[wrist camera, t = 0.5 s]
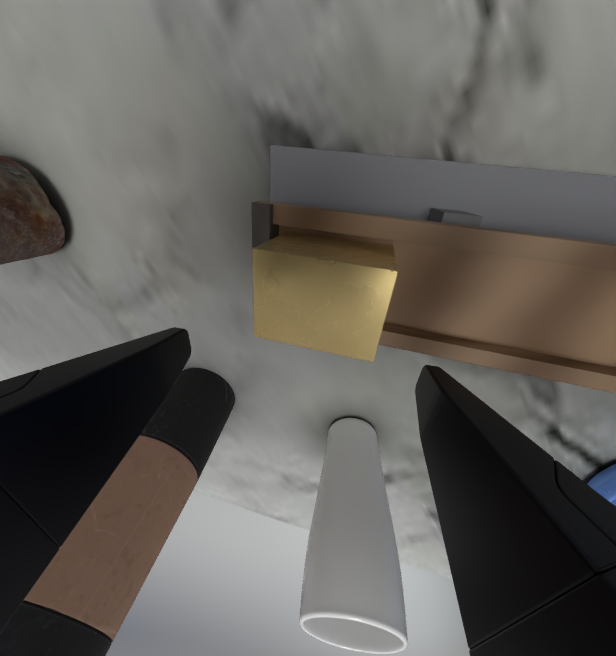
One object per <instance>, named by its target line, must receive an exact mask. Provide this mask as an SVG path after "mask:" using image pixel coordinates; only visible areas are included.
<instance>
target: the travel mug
mask: <svg viewBox="0 0 616 656" xmlns="http://www.w3.org/2000/svg"><path fill="white" fill-rule="evenodd" d="M234 402H235V397H234V393H233V391H232V389H231V387H230V386H229V384H228V383H227V382H226V381H225V380H224V379H222V378H221V377H220V376H218V375H217V374H215V373H213V372H210V371H208V370H204V369H199V368H191V369H187V370H184V371H182V372H181V373H180V375H179V377H178V379H177V381H176V382H175V384H174V386H173V388H172V389H171V391H170V393H169V394H168V396H167V397H166V399H165V400H164V402H163V403H162V405H161V406H160V407H159V409H158V410H157V412H156V413H155V414H154V416H153V417H152V419H151V420H150V422H149V423H148V424H147V426H146V427H145V429H144V430H143V431H142V433H141V434H140V436H139V437H138V439H137V440H136V441H135V443H134V444H133V446H132V447H131V448H130V450H129V451H128V453H127V454H126V455H125V457H124V458H123V460H122V461H121V463H120V464H119V465H118V467H117V468H116V470H115V471H114V472H113V474H112V475H111V477H110V478H109V480H108V481H107V482H106V484H105V485H104V487H103V488H102V489H101V491H100V492H99V494H98V495H97V497H96V498H95V499H94V501H93V502H92V504H91V505H90V506H89V508H88V509H87V511H86V512H85V514H84V515H83V516H82V518H81V519H80V521H79V522H78V523H77V525H76V526H75V528H74V529H73V531H72V532H71V533H70V535H69V536H68V538H67V539H66V540H65V542H64V543H63V545H62V546H61V547H59V548H60V549H59V551H58V552H57V554H56V555H55V556H54V558H53V559H52V561H51V562H50V563H49V565H48V566H47V568H46V569H45V571H44V572H43V573H42V575H41V576H40V578H39V579H38V580H37V582H36V583H35V585H34V586H33V588H32V589H31V590H30V592H29V593H28V595H27V596H26V597H25V599H24V600H23V602H22V603H21V605H20V606H19V607H18V609H17V610H16V612H15V613H14V614H13V616H12V617H11V619H10V620H9V622H8V623H7V624H6V626H5V627H4V629H3V630H2V631H1V633H0V656H105V655H106V653H107V651H108V649H109V648H110V646H111V642H113V640H114V638H115V636H116V634H117V633H118V631H119V629H120V627H121V624H122V623H123V621H124V619H125V617H126V615H127V614H128V612H129V610H130V608H131V606H132V604H133V602H134V600H135V599H136V596H137V595H138V593H139V591H140V589H141V587H142V585H143V583H144V582H145V580H146V578H147V576H148V574H149V572H150V570H151V568H152V566H153V565H154V563H155V561H156V559H157V557H158V555H159V553H160V551H161V549H162V547H163V546H164V544H165V542H166V540H167V538H168V536H169V534H170V532H171V530H172V529H173V526H174V525H175V523H176V521H177V519H178V517H179V515H180V513H181V511H182V510H183V508H184V506H185V504H186V502H187V500H188V498H189V496H190V495H191V493H192V491H193V489H194V487H195V485H196V483H197V481H198V479H199V477H200V475H201V473H202V471H203V469H204V467H205V465H206V463H207V461H208V459H209V456H210V454H211V452H212V450H213V448H214V446H215V444H216V442H217V440H218V438H219V436H220V434H221V432H222V430H223V427H224V425H225V423H226V421H227V419H228V417H229V415H230V413H231V411H232V408H233V406H234Z"/></svg>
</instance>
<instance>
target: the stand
mask: <svg viewBox="0 0 616 656" xmlns="http://www.w3.org/2000/svg"><path fill="white" fill-rule="evenodd" d="M270 202H276V203H284V204H292V205H300V206H309V207H317V208H325V209H333V210H342V211H350V212H358V213H366V214H375V215H383V216H391V217H399V218H408V219H416V220H424V221H432V222H441V223H449V224H457V225H465V226H473V227H482V228H490V229H498V230H506V231H515V232H523V233H531V234H539V235H548V236H556V237H564V238H572V239H581V240H589V241H597V242H605V243H614V244H616V176H606V175H595V174H584V173H573V172H562V171H551V170H540V169H529V168H518V167H507V166H496V165H485V164H474V163H463V162H452V161H442V160H431V159H420V158H409V157H398V156H387V155H376V154H365V153H354V152H343V151H332V150H321V149H310V148H299V147H288V146H277V145H270Z"/></svg>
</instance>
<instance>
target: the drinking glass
mask: <svg viewBox="0 0 616 656" xmlns="http://www.w3.org/2000/svg"><path fill="white" fill-rule="evenodd" d="M299 622H300V625H301V627H302V629H303V630H304V631H305V632H307V633H308V634H309V635H311V636H313V637H315V638H317V639H319V640H321V641H323V642H326V643H328V644H331V645H334V646H338V647H341V648H345V649H349V650H354V651H359V652H366V653H376V654H391V653H397V652H401V651H403V650H404V649H405V648H406V647H407V644H408V638H407V627H406V615H405V604H404V595H403V585H402V577H401V570H400V563H399V556H398V550H397V545H396V539H395V534H394V529H393V523H392V518H391V513H390V508H389V503H388V498H387V492H386V487H385V482H384V477H383V471H382V466H381V461H380V455H379V449H378V439H377V434H376V432H375V430H374V428H373V427H372V426H371V425H370V424H368V423H367V422H365V421H363V420H360V419H356V418H344V419H340V420H338V421H336V422H335V423H333V424H332V425H331V427H330V428H329V431H328V436H327V446H326V452H325V457H324V462H323V468H322V473H321V478H320V483H319V488H318V493H317V498H316V503H315V508H314V513H313V518H312V524H311V529H310V535H309V540H308V546H307V553H306V560H305V568H304V576H303V585H302V596H301V608H300V619H299Z"/></svg>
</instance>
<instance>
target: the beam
mask: <svg viewBox="0 0 616 656" xmlns="http://www.w3.org/2000/svg"><path fill="white" fill-rule="evenodd" d="M287 231H296V232H303V233H310V234H317V235H324V236H332V237H339V238H346V239H353V240H360V241H367V242H374V243H382V244H389V245H393V246H394V252H395V257H396V263H397V269H398V273H397V277H396V280H395V284H394V288H393V291H392V295H391V299H390V302H389V306H388V310H387V313H386V317H385V321H384V324H383V328H382V332H381V335H380V339H379V343H378V344H379V345H384V346H389V347H394V348H399V349H404V350H409V351H413V352H418V353H423V354H428V355H433V356H438V357H443V358H447V359H452V360H457V361H462V362H467V363H472V364H477V365H481V366H486V367H491V368H496V369H501V370H506V371H511V372H515V373H520V374H525V375H530V376H535V377H540V378H545V379H549V380H554V381H559V382H564V383H569V384H574V385H579V386H583V387H588V388H593V389H598V390H603V391H608V392H613V393H616V244H614V243H605V242H597V241H589V240H581V239H572V238H564V237H556V236H548V235H539V234H531V233H523V232H515V231H506V230H498V229H490V228H482V227H473V226H465V225H457V224H449V223H441V222H432V221H424V220H416V219H408V218H399V217H391V216H383V215H375V214H366V213H358V212H350V211H342V210H333V209H325V208H317V207H309V206H300V205H292V204H284V203H276V202H267V201H259V202H252V240H253V248H254V247H256V246H258V245H261V244H263V243H265V242H267V241H269V240H271V239H273V238H275V237H277V236H279V235H281V234H283V233H285V232H287Z"/></svg>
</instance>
